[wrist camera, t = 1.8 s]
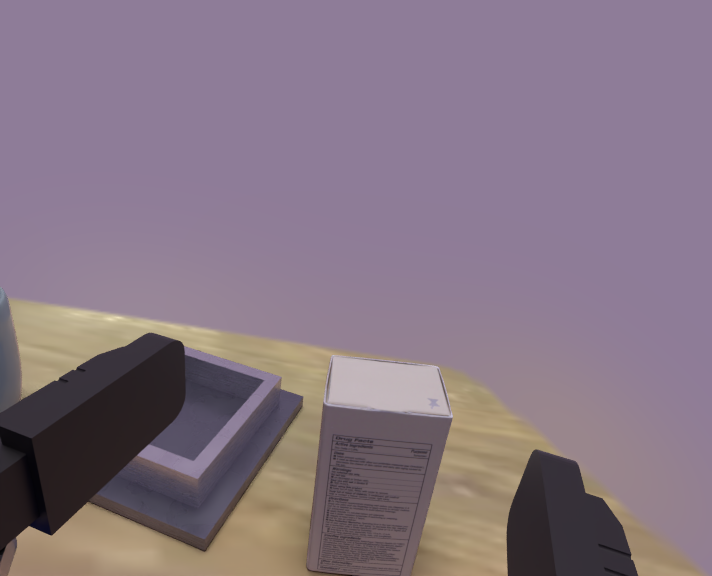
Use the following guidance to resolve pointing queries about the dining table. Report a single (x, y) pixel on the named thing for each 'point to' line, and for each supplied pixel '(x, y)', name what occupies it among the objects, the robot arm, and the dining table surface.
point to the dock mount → (204, 451)
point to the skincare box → (376, 465)
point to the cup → (8, 357)
